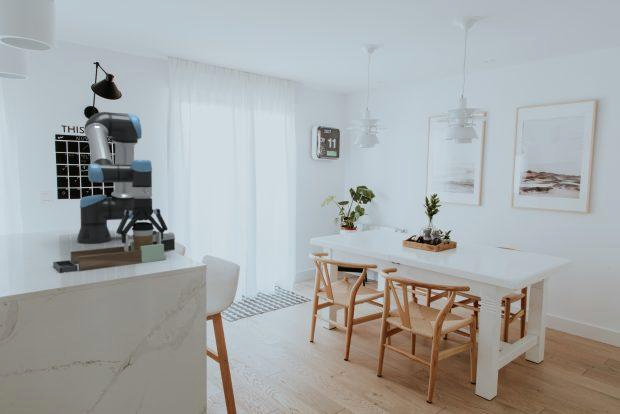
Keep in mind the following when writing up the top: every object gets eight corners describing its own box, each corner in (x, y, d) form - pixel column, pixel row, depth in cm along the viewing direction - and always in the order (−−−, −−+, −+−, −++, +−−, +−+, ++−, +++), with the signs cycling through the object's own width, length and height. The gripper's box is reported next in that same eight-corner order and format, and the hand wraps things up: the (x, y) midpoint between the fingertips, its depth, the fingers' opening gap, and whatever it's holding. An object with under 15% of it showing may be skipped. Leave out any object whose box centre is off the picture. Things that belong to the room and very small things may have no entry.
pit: (53, 266, 152) (53, 262, 152) (69, 264, 156) (69, 260, 156) (60, 273, 143) (59, 267, 143) (77, 270, 147) (77, 265, 147)
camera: (166, 248, 193) (165, 227, 193) (178, 250, 189) (177, 229, 188) (135, 253, 180) (135, 231, 179) (147, 255, 175) (147, 232, 175)
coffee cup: (149, 256, 174) (148, 221, 173) (157, 259, 168) (157, 223, 167) (129, 258, 169) (128, 222, 167) (137, 262, 163) (136, 224, 161)
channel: (71, 264, 157) (70, 251, 156) (130, 257, 171) (130, 245, 171) (79, 270, 147) (79, 257, 146) (141, 262, 161) (141, 250, 161)
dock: (130, 257, 171) (129, 242, 171) (154, 254, 178) (153, 239, 178) (141, 262, 161) (141, 246, 161) (166, 259, 168) (166, 244, 168)
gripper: (112, 199, 155) (114, 254, 157) (175, 197, 172) (175, 247, 174) (106, 197, 161) (108, 251, 163) (168, 196, 177) (168, 244, 179)
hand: (143, 249), depth 168 cm, fingers open, 13 cm apart
